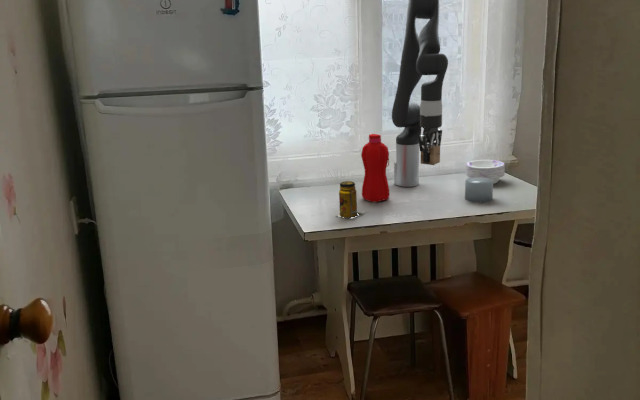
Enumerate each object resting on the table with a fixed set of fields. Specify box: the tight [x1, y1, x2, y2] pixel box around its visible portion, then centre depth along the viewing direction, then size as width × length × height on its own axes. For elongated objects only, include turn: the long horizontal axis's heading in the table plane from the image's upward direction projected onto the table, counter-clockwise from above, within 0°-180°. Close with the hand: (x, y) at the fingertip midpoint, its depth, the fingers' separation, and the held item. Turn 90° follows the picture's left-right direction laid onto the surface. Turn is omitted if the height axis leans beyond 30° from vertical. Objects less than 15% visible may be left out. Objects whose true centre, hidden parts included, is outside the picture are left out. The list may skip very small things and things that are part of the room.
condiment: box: [338, 180, 366, 219], centre depth 211 cm, size 7×8×12 cm
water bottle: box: [360, 133, 390, 203], centre depth 227 cm, size 9×11×25 cm
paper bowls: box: [465, 159, 506, 185], centre depth 247 cm, size 15×15×8 cm
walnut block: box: [420, 145, 441, 166], centre depth 212 cm, size 5×5×6 cm
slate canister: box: [464, 177, 494, 204], centre depth 224 cm, size 10×10×7 cm
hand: (430, 161), depth 213 cm, fingers closed on walnut block, 5 cm apart
